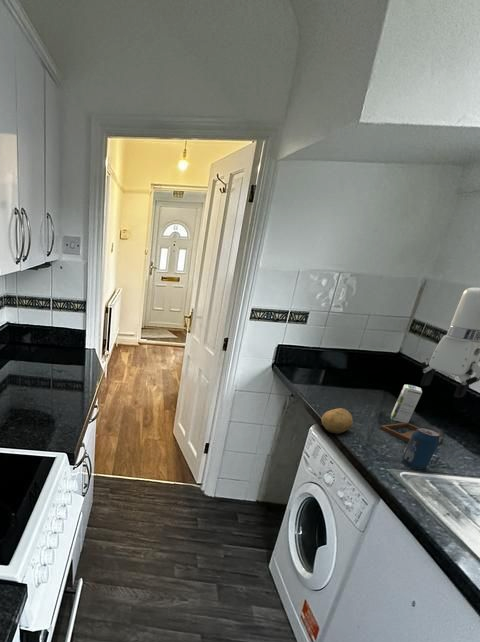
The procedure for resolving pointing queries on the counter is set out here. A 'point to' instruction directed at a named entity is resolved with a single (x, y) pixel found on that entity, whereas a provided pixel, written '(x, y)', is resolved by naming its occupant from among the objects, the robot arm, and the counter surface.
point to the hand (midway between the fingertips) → (440, 391)
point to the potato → (337, 420)
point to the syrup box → (406, 403)
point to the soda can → (421, 448)
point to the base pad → (402, 436)
